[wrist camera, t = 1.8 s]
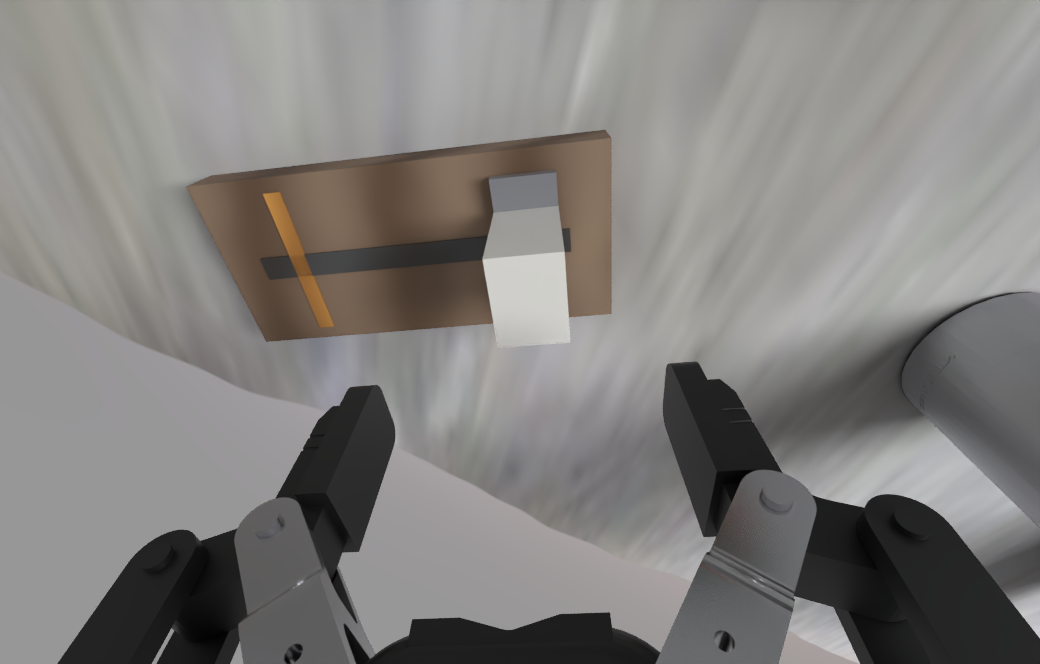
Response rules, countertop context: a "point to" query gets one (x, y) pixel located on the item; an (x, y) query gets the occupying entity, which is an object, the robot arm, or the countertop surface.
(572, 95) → the countertop surface
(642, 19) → the countertop surface
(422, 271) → the board
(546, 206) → the fader
